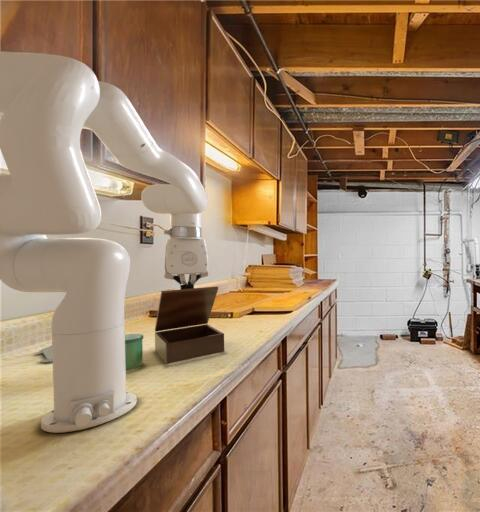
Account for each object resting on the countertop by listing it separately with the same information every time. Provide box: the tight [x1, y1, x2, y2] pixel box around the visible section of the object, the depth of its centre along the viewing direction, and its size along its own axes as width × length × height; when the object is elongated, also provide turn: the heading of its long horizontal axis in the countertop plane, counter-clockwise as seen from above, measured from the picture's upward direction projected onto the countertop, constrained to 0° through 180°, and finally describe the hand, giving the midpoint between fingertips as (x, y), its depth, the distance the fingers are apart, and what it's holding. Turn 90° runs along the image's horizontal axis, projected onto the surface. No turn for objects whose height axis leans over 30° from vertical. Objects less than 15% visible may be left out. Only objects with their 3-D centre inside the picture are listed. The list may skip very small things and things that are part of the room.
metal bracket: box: [35, 344, 53, 364], centre depth 91 cm, size 14×6×15 cm
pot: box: [125, 333, 144, 371], centre depth 77 cm, size 6×6×8 cm
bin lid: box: [154, 286, 219, 333], centre depth 90 cm, size 16×14×1 cm
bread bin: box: [154, 323, 225, 365], centre depth 89 cm, size 16×14×6 cm
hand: (187, 298), depth 90 cm, fingers closed
